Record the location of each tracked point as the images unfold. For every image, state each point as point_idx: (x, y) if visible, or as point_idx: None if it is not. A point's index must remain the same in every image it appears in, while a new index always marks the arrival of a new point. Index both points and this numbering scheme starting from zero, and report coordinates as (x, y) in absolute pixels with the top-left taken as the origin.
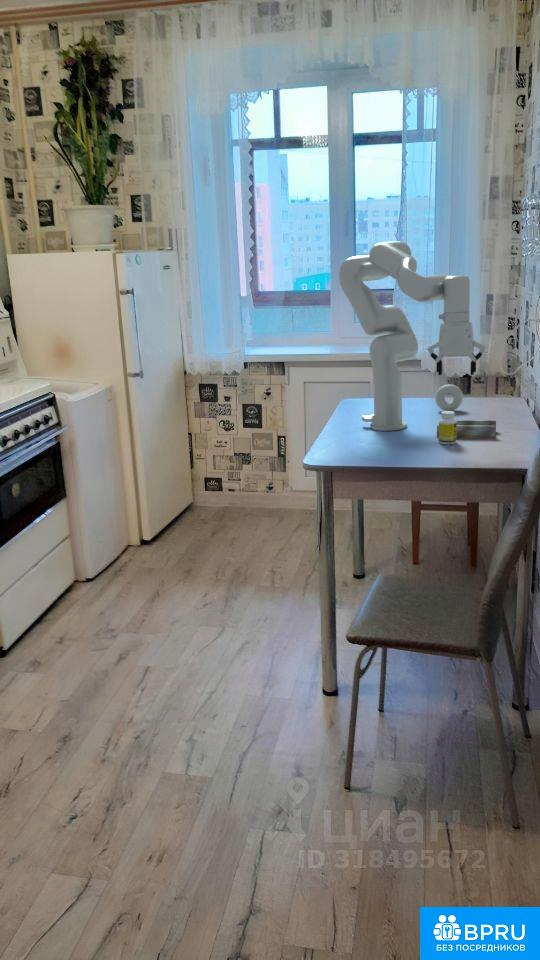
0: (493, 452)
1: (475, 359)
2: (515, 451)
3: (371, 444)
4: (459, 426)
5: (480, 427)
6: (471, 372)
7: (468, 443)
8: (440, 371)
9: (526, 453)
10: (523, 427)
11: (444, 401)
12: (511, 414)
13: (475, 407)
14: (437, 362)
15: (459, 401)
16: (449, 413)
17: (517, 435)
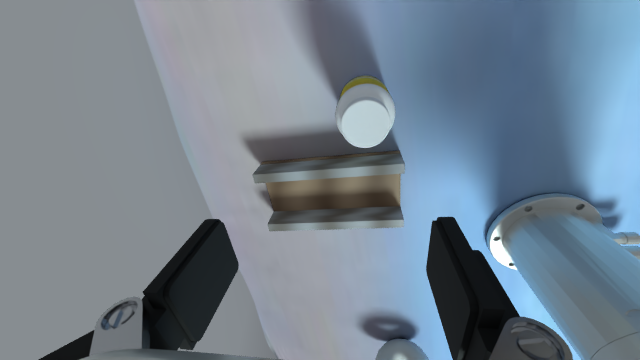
0: (219, 13)
1: (111, 321)
2: (174, 40)
3: (624, 26)
4: (340, 167)
5: (287, 171)
6: (206, 227)
7: (308, 102)
8: (444, 236)
9: (142, 24)
10: (238, 246)
11: (410, 358)
12: (285, 318)
13: (354, 354)
14: (513, 326)
15: (379, 356)
16: (355, 103)
17: (227, 190)
